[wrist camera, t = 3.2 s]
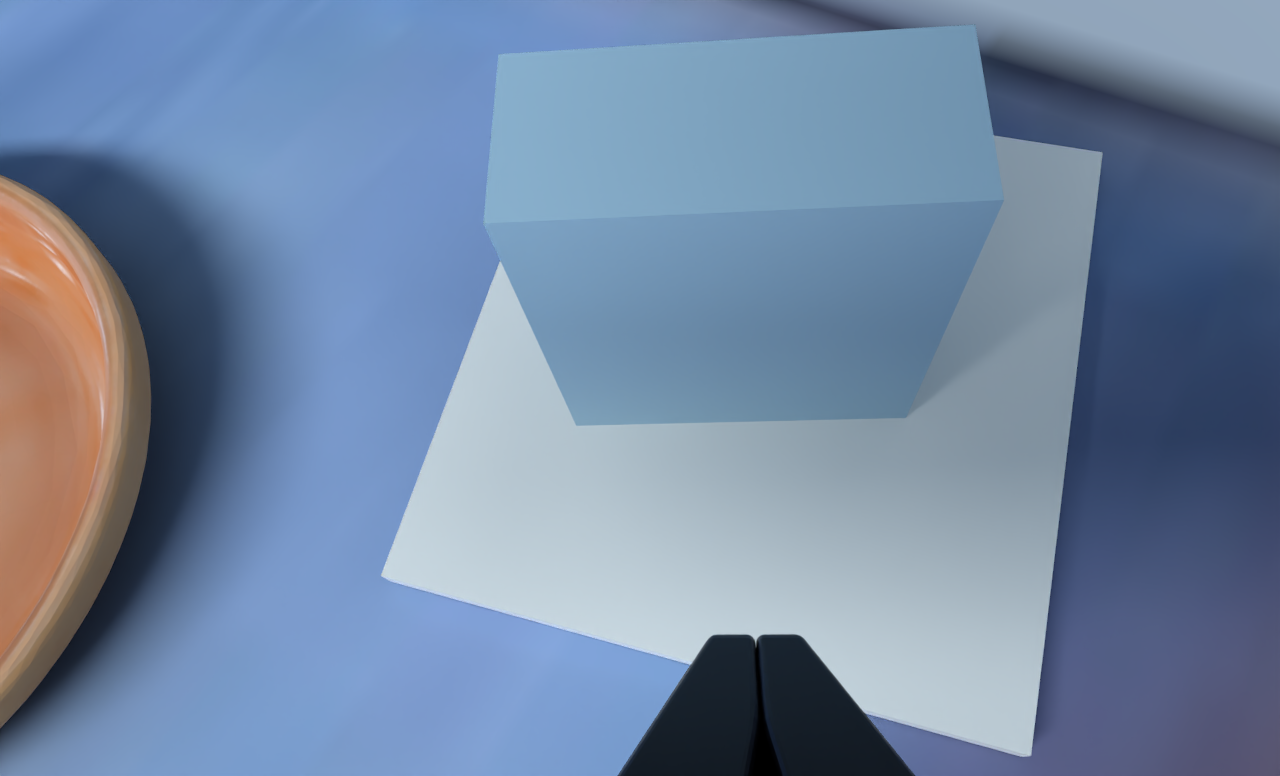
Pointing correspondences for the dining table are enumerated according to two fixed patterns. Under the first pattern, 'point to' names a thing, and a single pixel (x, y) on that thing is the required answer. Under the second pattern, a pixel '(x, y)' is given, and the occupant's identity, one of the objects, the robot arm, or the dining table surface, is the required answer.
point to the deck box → (743, 219)
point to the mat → (796, 494)
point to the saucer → (61, 432)
